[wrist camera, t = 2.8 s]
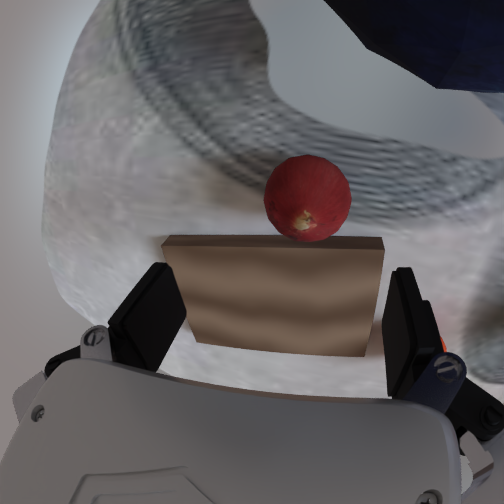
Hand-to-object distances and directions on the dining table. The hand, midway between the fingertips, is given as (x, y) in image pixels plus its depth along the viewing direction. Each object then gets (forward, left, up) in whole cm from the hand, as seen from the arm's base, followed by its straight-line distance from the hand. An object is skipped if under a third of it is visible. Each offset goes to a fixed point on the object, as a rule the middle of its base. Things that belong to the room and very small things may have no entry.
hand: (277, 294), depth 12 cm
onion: (0, 0, -13) cm, 13 cm away
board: (+12, -4, -13) cm, 18 cm away
